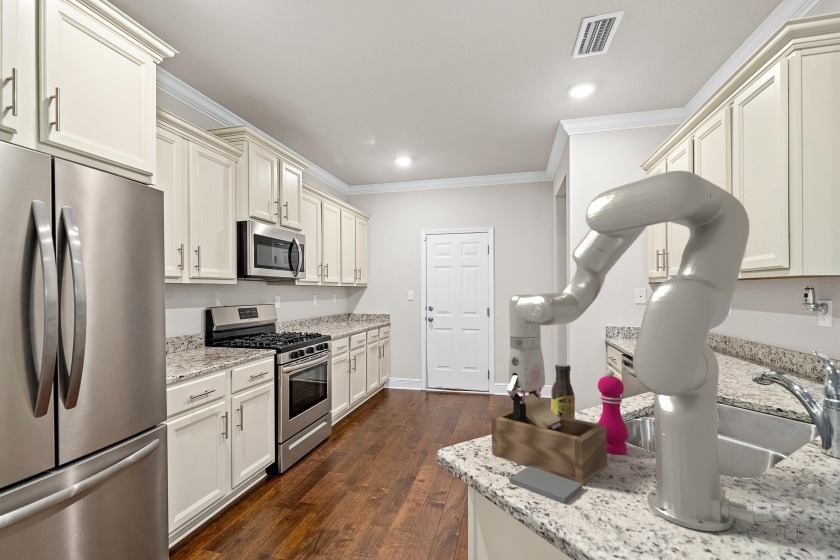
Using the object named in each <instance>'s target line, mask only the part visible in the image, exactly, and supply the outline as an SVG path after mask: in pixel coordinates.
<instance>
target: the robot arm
mask: <svg viewBox="0 0 840 560" xmlns="http://www.w3.org/2000/svg"><path fill="white" fill-rule="evenodd" d="M585 221H586V223H587V226H588V227H589V230H588V231H587V233H586V234H585V235H584V236H583V238H582V239H581V240H580V241H579V243H578V244H577V245H576V247H575V248H573V250H572V254H571V256H572V259H573V261H574V263H575V264H576V270H575V274H574V276H573V278H572V279H571V280H570V282H569V283H568V284H567V286H566V287H565V288H564V289H563V291H562V292H551V293H550V292H548V293H545V292H544V293H539V294H538V293H537V294H514V295H512V296H510V297H509V302H508V307H509V308H508V310H509V311H508V312H509V349H510V351H509V352H510V353H509V360H508V361H509V363H508V387H507V390H506V392H507V393H508V395H509V397H510V399H511V403H512V410H513V417H514V418H515V419H519V420H523V421H525V420H526V404H525V403H524V400H525V396H526V395H527V394H526V393H528V395H529V394H532V393H533V394H534V395H535V396H536V397H537V398H539V399H540V400H541V397H542V394H541V391H542V390H543V388H544V387H545V384H546V375H545V374H546V373H545V372H546V371H545V363H544V357H543V356H544V355H543V351H542V337H541V326H546V327H549V326H555V325H556V326H557V325H564V324H570V323H573V322H575V321H576V320H578V319H579V318H581V316H582V315H583V314H584V313H585V312H586V310H588V309H589V307H591V305H592V304H593V303H594V301H595V300H596V299H597V298H598V296H599V294H600V292H601V290H602V288H603V286H604V282H605V279H606V277H607V274H608V273H609V272H610V271H611V270H612V268H613V267H614V266H615V264H617V263H618V261H619V260H620V259H621V257H622V256H623V255H624V254H625V253H626V252H627V250H628V249H629V248H631V246H632V245H633V244H634V242H635V241H637V239H638V237H640V236H641V234H642V233H643V232H644V231H645V230H646V228H647V227H649V226H654V225H659V224H662V223H672V224H675V225H681V226H684V227H686V228H688V230H689V232H690V234H689V237H688V240H687V242H686V245H685V246H684V248H683V251H682V254H681V260H680V265H679V267H678V271H677V275H676V277H672V278H669V279H667V280H664V281H663V282H661V283H659V284H658V285H657V287H655V288H654V289H653V291H652V293H651V294H650V296H649V297H648V300H647V302H646V306H645V308H644V313H643V317H642V320H641V325H640V327H639V328H640V329H639V331H638V336H637V339H636V344H635V347H634V351H633V352H634V353H633V356H632V357H633V358H632V368H633V373H634V374H635V377H636V379H637V380H638V382H639V384H641V386H642V387H643V388H645V389H646V390H648V391H649V392H650V393H653V394H654V397H653V398H654V400H653V418H654V419H653V424H654V425H653V426H654V446H655V447H654V448H655V473H656V475H655V476H656V488H655V489H653V490H651V491H649V492H648V494H647V504H648V506H649V507H650V509H651V510H652V511H653V512H655V514H657V515H658V516H660V517H662V518H663V519H665V520H667V521H669V522H671V523H673V524H676V525H679V526H681V527H685V528H688V529H693V530H697V531H704V532H722V531H726V530H729V529H730V528H732V526H733V525H734V519H735V520H739V521H740V522H742V523H746V524H749V525H752V526H754V525H756V523H755V522H756V513H755V511H752V510H748V505H747V504H742V503H740V502H735V501H731V500H730V498H728V497H726V489H723V488H721V479H720V478H721V477H720V459H719V458H720V457H719V456H720V454H719V434H718V433H719V431H718V429H719V426H718V423H719V422H718V390H719V377H720V375H719V374H720V373H719V372H720V371H719V370H720V369H719V362H718V358H717V355H716V354H715V352H714V350H713V349H712V348H711V346H710V345H709V344H708V343H707V341H708V338H709V337H708V336H709V333H710V330H713V329H715V328H717V327H719V326H720V325H722V324H723V323H725V320H726V319H727V317H728V316H729V313H730V310H731V305H732V300H733V297H734V292H735V290H736V286H737V284H738V283H737V282H738V279H739V277H740V271H741V265H742V263H743V258H744V256H745V253H746V250H747V249H746V248H747V246H748V241H749V235H750V220H749V215H748V213H747V210H746V208H745V206H744V205H743V204H742V202H741V201H740V200H739V199H738V198H737V197H735V195H733V194H731V193H730V192H728V191H726V190H725V189H723V188H722V187H720V186H718V185H716V184H715V183H713V182H711V181H709V180H708V179H705V178H703V177H701V176H700V175H698V174H696V173H693V172H690V171H687V170H671V171H666V172H662V173H660V174H655V175H652V176H649V177H645V178H643V179H641V180H636V181H633V182H629V183H626V184H623V185H620V186H617V187H614V188H611V189H608V190H606V191H604V192H601V193H600V194H598V195H597V196H596V197H594V198H593V199H592V200H591V202H590V203H589V204H588V206H587V208H586V212H585ZM518 393H519V394H518Z"/></svg>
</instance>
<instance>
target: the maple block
mask: <svg viewBox="0 0 840 560" xmlns="http://www.w3.org/2000/svg"><path fill="white" fill-rule="evenodd" d="M524 403H525V404H526V416H527V417H528V418H529V419H530V420H531V421H532V422H533V423H534V424H535V425H536V426H538V427H542V428H546V429H548V428H549V427H550V426H551V425H553V424H555V423H557V422H560V420H561V419H560V418H559V417H558V416H557V415H556V414H555V413H554V412H553V411H552V410H551V408H550V407H549V406H547V405H546V404H545V403H544V402H543V401H542V400H541V398H540V399H539V398H537V397H536V396H535V395H534V394H533V393H532V394H529V393H528V394H525V400H524Z"/></svg>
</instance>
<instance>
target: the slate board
mask: <svg viewBox="0 0 840 560" xmlns="http://www.w3.org/2000/svg"><path fill="white" fill-rule="evenodd" d="M508 480H509V483H510V484H513V485H515V486H518V487H520V488H522V489H526V490H528V491H530V492H533V493H536V494H538V495H541V496H543V497H546V498H548V499H551V500H554V501H557V502H559V503H562V504H566V503H567V502H568V501H570V500H571V499H572V498H573V497H575V496H576V495H577V494H579V492H581V491H582V490H583V489H584V488H583V485H582V484H581V483H579V482H576V481H573V480H570V479H567V478H564V477H561V476H558V475H555V474H552V473H549V472H546V471H543V470H540V469H537V468H534V467H531V466H528V467H527V466H525V468H523V469H521V470H520V471H518V472H516V473H515V474H512V476H510V477H509V479H508Z"/></svg>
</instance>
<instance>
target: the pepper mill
mask: <svg viewBox="0 0 840 560" xmlns="http://www.w3.org/2000/svg"><path fill="white" fill-rule="evenodd" d="M605 374H606V375H604V376H602V377H600V378H599V380H598V382H597V389H598V391H599V392H600V393H601V394H600V395H599V397H600V399H599V401H600V402H601V403H602V411H601V415H600V418H599V420H598V422H597V424H600V425H604V426H606V439H607V454H609V455H615V456H617V455H620V456H621V455H625V454H626V453H627V450H628V449H627V444H626V441H627V440H628V438H629V429H628V427H627V425H626V423H625V421H624V418H623V417H622V414H621V404H622V403H623V400H622V399H623V397H622V394H623V393H624V391H625V386H624V384H623V383H624V382H623V381H622V380H621V379H620V378H618V377H616V376H614V375H615V372H614V371H613V370H610V369H608V370H607V371H606V373H605Z"/></svg>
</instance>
